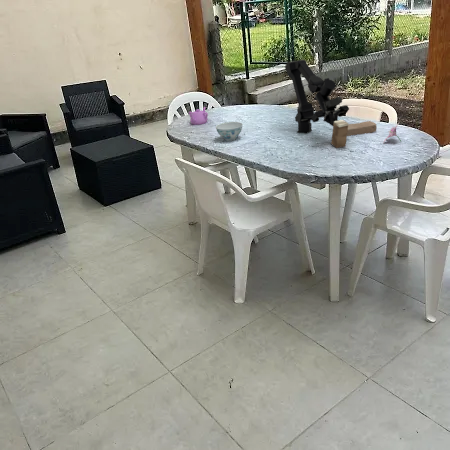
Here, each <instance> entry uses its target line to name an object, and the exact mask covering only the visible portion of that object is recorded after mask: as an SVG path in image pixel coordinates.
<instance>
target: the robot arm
mask: <svg viewBox="0 0 450 450" xmlns="http://www.w3.org/2000/svg"><path fill="white" fill-rule="evenodd" d="M284 69H285V72H286V74H287V76H288V77H289V78H290V79H291V81H292V85H293V89H294V92H295V95H296V100H297V103H298V106H297V109H296V111H297V113H296V116H294V120H295V122H297V131H296V133H299V134H308V133H309V132H311V131H313V129H312V123H311V121H312V122H313V123H318V122H319V121H320V118H323V122H326V123H327V124H329V125H330V126H331V127H333V124H334V121H338V119H339V118H340V117H343V116H345V115H346V114H347V113H348V111H349V110H350V107H349V106H348V105H347V104H345V105H341V104H342V102H343V99H342V97H341V96H336V97H335V98H330V96H331V95H332V93H333V92H334V90H335V88H337V87H336V86H337V85H336V82H335V81H333V80H332V79H330V78H329V77H326V78H324V79H323V78H322V77H320V76H318V75H316V74H315V73H314V72H313V70H312V69H311V67H310V66H309V65H308V63H307V61H306V60H305V59H299V60H292V61H287V63H286V64H285V67H284ZM302 76H303V78H304V80H305V81H306V82H307V87H308V90H309V91H310V92H311V93H312V94H314V93H316V94H315V95H314V101H317V103H318V105H319V110H317V111H314V106H313V103H312V102H309V101H308V99H307V98H308V97H307V95H306V91H305V87H304V84H303V79H302ZM340 105H341V106H340ZM338 106H339V108H338ZM337 108H338V109H337ZM338 117H339V118H338Z"/></svg>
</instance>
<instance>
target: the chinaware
mask: <svg viewBox="0 0 450 450" xmlns="http://www.w3.org/2000/svg"><path fill="white" fill-rule="evenodd" d="M215 129H216V132H217V134H218V136H220V137H221V138H223V139H224V141H227V142H228V141H229V142H230V141H235V140H236V139H237V137H238V136H240V134H241V132H242V130H243V123H242V122H240V121H229V122H227V121H226V122H223V123H219V124H217V125H216V126H215Z"/></svg>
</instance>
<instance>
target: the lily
mask: <svg viewBox="0 0 450 450" xmlns="http://www.w3.org/2000/svg"><path fill="white" fill-rule="evenodd" d="M398 125H400V122H398V123H397V124H396V125H395V126H392V127H391V128H390V130H389V131H388V135H387V136H386V138H385V139H384V141H383V144H384V143H385V142H386V140H387V139H389V138H392V137H397V138H398V140H399V141H400V142H402V141H401V138H400V137H399V135H397V128H398Z"/></svg>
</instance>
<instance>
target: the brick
mask: <svg viewBox="0 0 450 450" xmlns="http://www.w3.org/2000/svg"><path fill="white" fill-rule="evenodd" d="M376 131H377V123H376V122H373V121H371V120H367V121H362V122H356V123H355V122H354V123H349V124H348V131H347V137H351V135H352V136H358V135H357V134H359V135H365V133H366V134H371V133H375V132H376Z"/></svg>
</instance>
